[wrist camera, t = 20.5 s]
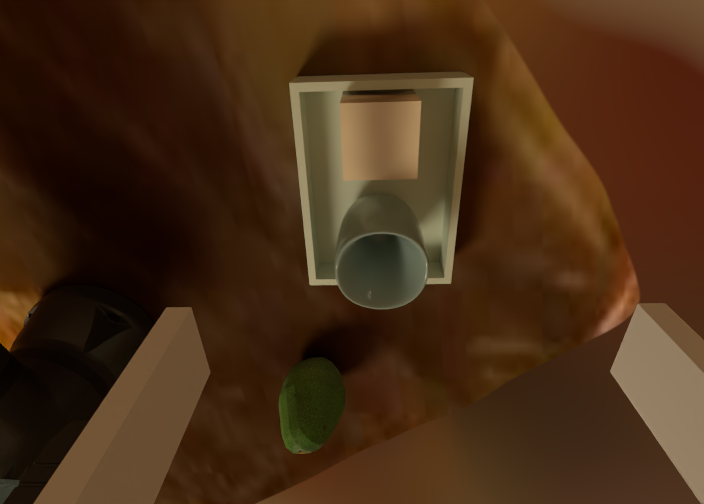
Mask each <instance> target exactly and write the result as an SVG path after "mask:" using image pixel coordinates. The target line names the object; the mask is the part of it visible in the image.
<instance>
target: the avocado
mask: <svg viewBox="0 0 704 504" xmlns="http://www.w3.org/2000/svg"><path fill="white" fill-rule="evenodd" d="M345 393H346V392H345V388H344V385H343V381H342V378H341V374H340V372H339V371H338V369H337V368H336V367H335V365H334V364H333V363H332V362H331V361H329V360H327V359H326V358H324V357H313V358H308V359H306V360H303V361H301V362H299V363H297V364H296V365H294V366H293V368H292V369H291V371H290V372H289V373H288V375H287V377H286V379H285V380H284V382H283V386H282V389H281V393H280V398H279V412H280V422H281V432H282V437H283V440H284V443H285V446H286V448H287V449H289V450H290V451H291V452H292V453H311V452H313V451H316V450H318V449H320V447H321V446H322V445H323V444H324V443H325V442H326V441H327V439H328V438H329V437H330V436H331V434H332V432H333V431H334V429H335V427H336V425H337V423H338V421H339V419H340V417H341V415H342V413H343V410H344V405H345Z"/></svg>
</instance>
